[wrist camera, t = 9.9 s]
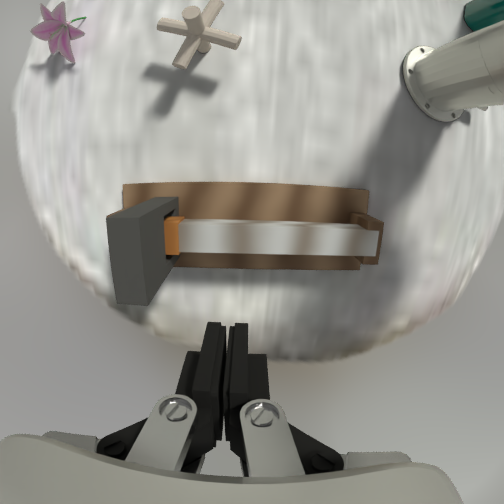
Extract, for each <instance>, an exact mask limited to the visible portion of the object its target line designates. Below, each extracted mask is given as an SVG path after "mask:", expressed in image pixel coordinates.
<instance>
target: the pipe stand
mask: <svg viewBox="0 0 504 504" xmlns="http://www.w3.org/2000/svg"><path fill="white" fill-rule="evenodd" d="M154 197H179V217H167V218H165V219H164V234H165V252H166V255H179V254H180V257H179V258H178V260H177V261H176V263H175V264H174V266H173V267H200V268H239V269H295V270H360V264H361V263H362V264H378V260H379V254H380V248H381V241H382V234H383V226H384V222H382V221H380V220H378V219H376V218H373V217H371V216H369V215H367V210H368V199H369V191H368V190H361V189H350V188H339V187H327V186H313V185H297V184H278V183H251V182H165V183H138V184H124V185H123V206H124V209H122V210H119V211H117V212H115V213H112V214H110V215H108V216H107V217H110V216H112V215H114V214H116V213H119V212H121V211H123V210H126V209H128V208H130V207H133V206H135V205H137V204H140V203H142V202H145V201H147V200H149V199H152V198H154Z"/></svg>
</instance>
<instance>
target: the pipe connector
mask: <svg viewBox="0 0 504 504" xmlns="http://www.w3.org/2000/svg"><path fill="white" fill-rule="evenodd" d="M223 6H224V3H223V2H222V1H221V0H210V1H209V3H208V4H207V6H206V7H205V9H204V10H203V12H202V13H201V12H200V9H199V8H198V7H196V6H189V7H187V8H185V9H184V10H183V12H182V16H183V18H184V20H185V22H184V21H179V20H174V19H168V18H161V19H160V20H159V22H158V24H157V30H159V31H164V32H169V33H174V34H179V35H183V36H187V37H186V39H185V41H184V43H183V44H182V46H181V48H180V50H179V52H178V53H177V55H176V57H175V59H174V61H173V63H172V65H173V66H175V67H177V68H180V69H186V68H187V67H188V65H189V63H190V61H191V59H192V57H193V55H194V54H195V52H196V50H198V51H199V52H201V53H206V52H208V51H209V50H210V49H211V44H210V42H211V43H214V44H218V45H221V46H224V47H228V48H231V49H234V50H236V49H237V48H238V46H239V44H240V42H241V39H242V37H241V36H238V35H235V34H231V33H228V32H224V31H221V30H217V29H214V28H210V26H211V24H212V23H213V21H214V20H215V18H216V16H217V15H218V13H219V12H220V10H221V9H222V7H223Z"/></svg>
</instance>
